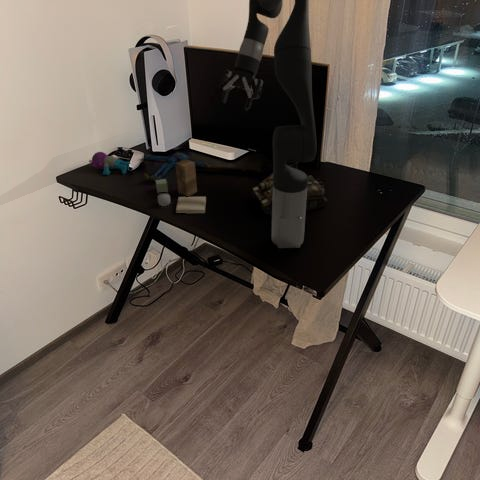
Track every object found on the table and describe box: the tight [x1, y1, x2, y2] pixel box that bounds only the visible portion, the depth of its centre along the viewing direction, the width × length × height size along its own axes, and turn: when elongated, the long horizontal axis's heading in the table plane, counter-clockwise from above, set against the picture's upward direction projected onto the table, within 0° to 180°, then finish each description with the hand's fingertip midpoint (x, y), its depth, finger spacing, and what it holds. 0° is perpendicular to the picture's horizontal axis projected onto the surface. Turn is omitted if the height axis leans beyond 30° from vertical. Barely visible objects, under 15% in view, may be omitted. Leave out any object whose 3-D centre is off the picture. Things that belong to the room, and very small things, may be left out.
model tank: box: [252, 163, 328, 216], centre depth 145 cm, size 13×22×15 cm, turn 105°
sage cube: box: [155, 178, 169, 194], centre depth 157 cm, size 4×4×4 cm
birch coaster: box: [175, 196, 207, 214], centre depth 147 cm, size 9×9×1 cm
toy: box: [88, 151, 131, 176], centre depth 172 cm, size 12×7×15 cm
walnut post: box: [175, 159, 198, 197], centre depth 153 cm, size 4×4×11 cm
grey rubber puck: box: [157, 193, 172, 206], centre depth 149 cm, size 4×4×3 cm
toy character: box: [143, 152, 212, 183], centre depth 171 cm, size 30×4×25 cm
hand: (234, 106), depth 151 cm, fingers open, 8 cm apart
